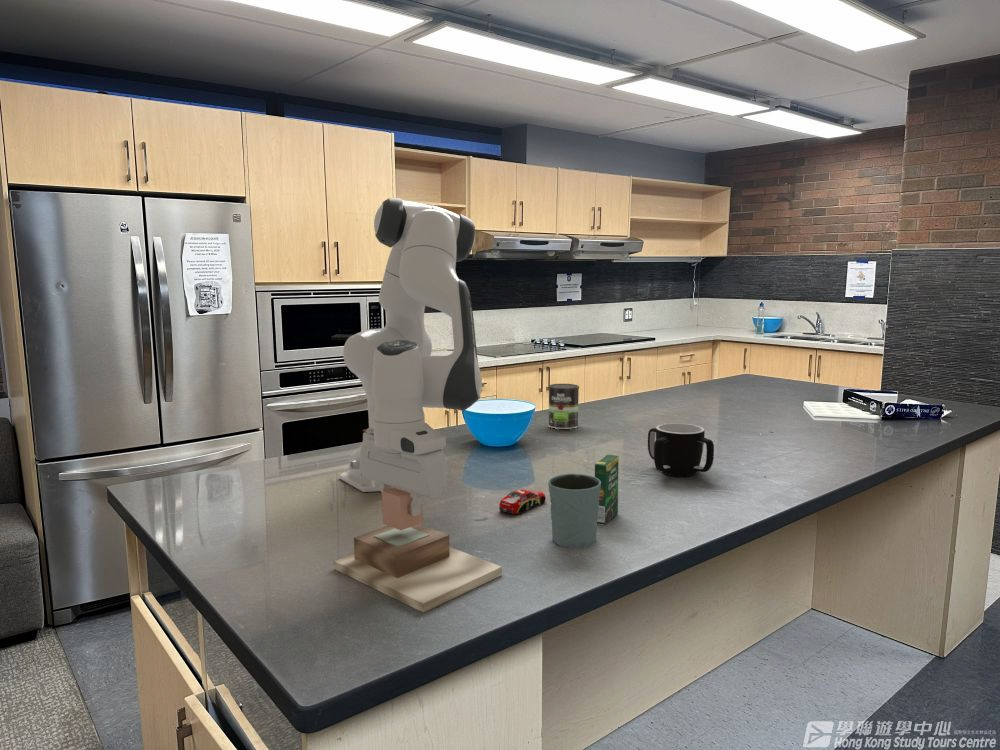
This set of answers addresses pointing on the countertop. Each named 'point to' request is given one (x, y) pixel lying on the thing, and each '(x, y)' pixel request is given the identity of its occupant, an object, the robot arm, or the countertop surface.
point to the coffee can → (563, 406)
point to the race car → (521, 501)
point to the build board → (425, 579)
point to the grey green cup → (574, 509)
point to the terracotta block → (398, 509)
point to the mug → (679, 449)
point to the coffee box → (607, 488)
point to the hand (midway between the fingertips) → (402, 510)
